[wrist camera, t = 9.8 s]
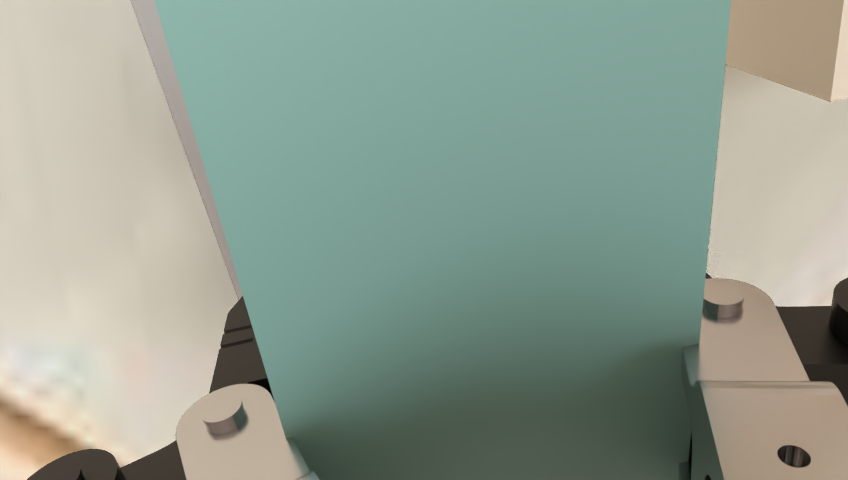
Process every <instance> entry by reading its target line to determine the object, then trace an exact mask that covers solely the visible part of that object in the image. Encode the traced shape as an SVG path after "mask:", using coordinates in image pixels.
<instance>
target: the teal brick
mask: <svg viewBox="0 0 848 480" xmlns="http://www.w3.org/2000/svg"><path fill="white" fill-rule="evenodd" d="M154 2H155V5H156V9H157V12H158V15H159V18H160V22H161V25H162V28H163V32H164V35H165V38H166V42H167V45H168V48H169V52H170V55H171V58H172V62H173V65H174V68H175V72H176V75H177V78H178V82H179V85H180V88H181V92H182V95H183V98H184V102H185V105H186V108H187V112H188V115H189V118H190V122H191V125H192V128H193V132H194V135H195V138H196V142H197V145H198V148H199V151H200V155H201V158H202V161H203V165H204V168H205V171H206V175H207V178H208V181H209V185H210V188H211V191H212V195H213V198H214V201H215V205H216V208H217V211H218V215H219V218H220V221H221V225H222V228H223V231H224V235H225V238H226V241H227V245H228V248H229V251H230V255H231V258H232V261H233V265H234V268H235V271H236V275H237V278H238V281H239V284H240V288H241V291H242V294H243V298H244V301H245V304H246V308H247V311H248V314H249V318H250V321H251V324H252V328H253V331H254V334H255V338H256V341H257V344H258V348H259V351H260V354H261V358H262V361H263V364H264V368H265V371H266V374H267V378H268V381H269V384H270V388H271V391H272V394H273V398H274V401H275V404H276V408H277V411H278V414H279V417H280V421H281V424H282V427H283V431H284V434H285V437H286V438H289V437H292V438H293V440H294V442H295V444H296V446H297V448H298V449H299V451H300V453H301V455H302V457H303V459H304V461H305V463H306V465H307V467H308V469H309V471H310V472H311V471H312V470H313V471H314V472H315V473H316V475H317V476H318V478H319V480H678V474H679V463H682V462H686V461H688V459H689V449H690V438H691V423H690V416H689V411H688V406H687V401H686V397H685V392H684V387H683V383H682V378H681V362H682V347H684V346H689V345H693V344H697V343H699V341H700V331H701V320H702V309H703V299H704V288H705V277H706V266H707V256H708V245H709V234H710V224H711V213H712V202H713V191H714V181H715V170H716V159H717V149H718V138H719V127H720V116H721V106H722V95H723V84H724V74H725V63H726V52H727V41H728V31H729V20H730V9H731V0H154Z"/></svg>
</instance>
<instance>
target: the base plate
mask: <svg viewBox="0 0 848 480" xmlns="http://www.w3.org/2000/svg"><path fill="white" fill-rule="evenodd" d="M131 3H132V6H133V8H134V11H135V14H136V17H137V20H138V22H139V25H140V28H141V31H142V33H143V36H144V39H145V42H146V44H147V47H148V50H149V53H150V56H151V58H152V61H153V64H154V67H155V69H156V72H157V75H158V78H159V81H160V83H161V86H162V89H163V92H164V94H165V97H166V100H167V103H168V105H169V108H170V111H171V114H172V117H173V119H174V122H175V125H176V128H177V130H178V133H179V136H180V139H181V142H182V144H183V147H184V150H185V153H186V155H187V158H188V161H189V164H190V167H191V169H192V172H193V175H194V178H195V180H196V183H197V186H198V189H199V191H200V194H201V197H202V200H203V203H204V205H205V208H206V211H207V214H208V216H209V219H210V222H211V225H212V228H213V230H214V233H215V236H216V239H217V241H218V244H219V247H220V250H221V252H222V255H223V258H224V261H225V264H226V266H227V269H228V272H229V275H230V277H231V280H232V283H233V286H234V289H235V291H236V294H237V297H238V300H240V298H241V297H242V296H243V294H242V291H241V288H240V284H239V281H238V278H237V275H236V271H235V268H234V265H233V261H232V258H231V255H230V251H229V248H228V245H227V241H226V238H225V235H224V231H223V228H222V225H221V221H220V218H219V215H218V211H217V208H216V205H215V201H214V198H213V195H212V191H211V188H210V185H209V181H208V178H207V175H206V171H205V168H204V165H203V161H202V158H201V155H200V151H199V148H198V145H197V142H196V138H195V135H194V132H193V128H192V125H191V122H190V118H189V115H188V112H187V108H186V105H185V102H184V98H183V95H182V92H181V88H180V85H179V82H178V78H177V75H176V72H175V68H174V65H173V62H172V58H171V55H170V52H169V48H168V45H167V42H166V38H165V35H164V32H163V28H162V25H161V22H160V18H159V15H158V12H157V9H156V5H155V2H154V0H131Z"/></svg>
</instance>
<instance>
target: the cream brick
mask: <svg viewBox="0 0 848 480" xmlns="http://www.w3.org/2000/svg"><path fill="white" fill-rule="evenodd" d="M725 64H726V65H729V66H731V67H734V68H737V69H740V70H743V71H745V72H748V73H751V74H754V75H757V76H759V77H762V78H765V79H768V80H771V81H774V82H776V83H779V84H782V85H785V86H788V87H790V88H793V89H796V90H799V91H802V92H804V93H807V94H810V95H813V96H816V97H818V98H821V99H824V100H827V101H830V102H832V101H837V100H841V99H846V98H848V0H731V9H730V20H729V31H728V41H727V52H726V63H725Z"/></svg>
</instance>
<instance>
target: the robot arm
mask: <svg viewBox="0 0 848 480" xmlns="http://www.w3.org/2000/svg"><path fill="white" fill-rule="evenodd" d="M681 378H682V383H683V387H684V392H685V397H686V401H687V406H688V411H689V416H690V423H691V438H690V449H689V459H688V461H686V462H682V463H679V474H678V480H848V278H846V279H844V280H842V281H840V282H839V283H838V284H837V285H836V287H835V289H834V293H833V300H832V306H810V307H777V306H775V305H774V303H773V301H772V299H771V298H770V297H769V296H768V295H767V294H766V293H765V292H764V291H762V290H761V289H759V288H757V287H755V286H753V285H750V284H748V283H745V282H741V281H737V280H732V279H723V278H711V277H710V276H709V275H708V274H707V273H706V277H705V288H704V299H703V309H702V320H701V331H700V341H699V343H697V344H693V345H689V346H684V347H682V362H681ZM27 480H319V478H318V476H317V475H316V473H315V472H314V471H313V470H312V471H311V472H310V471H309V469H308V467H307V465H306V463H305V461H304V459H303V457H302V455H301V453H300V451H299V449H298V448H297V446H296V444H295V442H294V440H293V438H292V437H289V438H286V437H285V434H284V431H283V427H282V424H281V421H280V417H279V414H278V411H277V408H276V404H275V401H274V398H273V394H272V391H271V388H270V384H269V381H268V378H267V374H266V371H265V368H264V364H263V361H262V358H261V354H260V351H259V348H258V344H257V341H256V338H255V334H254V331H253V328H252V324H251V321H250V318H249V314H248V311H247V308H246V304H245V301H244V298H243V296H242V297H241V298H240V300H239V301H238V302H237V303H236V304H235V306H234V307H233V308H232V309H231V310H230V312H229V313H228V316H227V320H226V324H225V328H224V334H223V337H222V341H221V349H220V350H219V354H218V358H217V362H216V367H215V371H214V375H213V379H212V384H211V388H210V392H209V394H207V395H206V396H204V397H203V398H201V399H200V400H198V401H197V402H196V403H194V404H193V405H192V406H191V407H190V408H189V409H188V410H187V411H186V412H185V413H184V415H183V416H182V418H181V419H180V421H179V423H178V425H177V428H176V441H174V442H173V443H171V444H170V445H168V446H166V447H164V448H162V449H160V450H158V451H156V452H154V453H152V454H150V455H148V456H145V457H143V458H141V459H139V460H137V461H135V462H132V463H130V464H128V465H126V466H124V467H121V468H120V467H119V465H118V463H117V461H116V459H115V457H114V456H113V455H112V454H111V453H109V452H107V451H105V450H100V449H87V450H81V451H77V452H73V453H71V454H68V455H65V456H63V457H61V458H58V459H56V460H54V461H53V462H51V463H49V464H47V465H46V466H44V467H43V468H41V469H40V470H38V471H37V472H36V473H34V474H33V475H32V476H30V477H29V478H28V479H27Z"/></svg>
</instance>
